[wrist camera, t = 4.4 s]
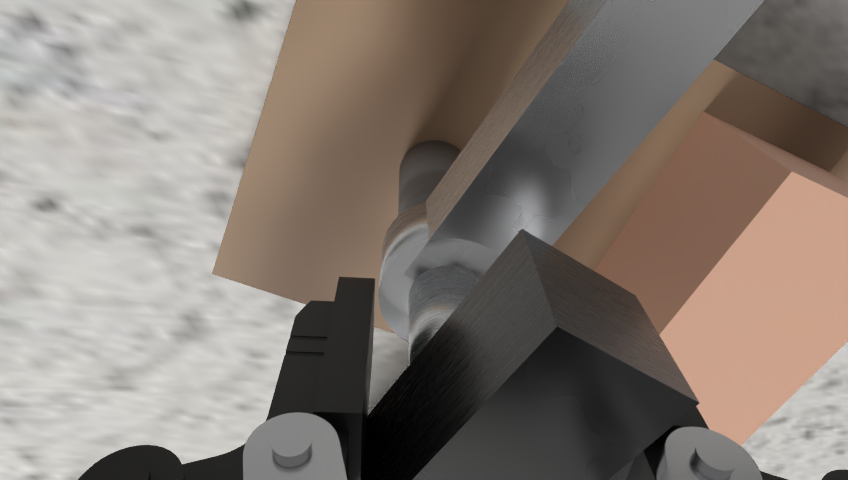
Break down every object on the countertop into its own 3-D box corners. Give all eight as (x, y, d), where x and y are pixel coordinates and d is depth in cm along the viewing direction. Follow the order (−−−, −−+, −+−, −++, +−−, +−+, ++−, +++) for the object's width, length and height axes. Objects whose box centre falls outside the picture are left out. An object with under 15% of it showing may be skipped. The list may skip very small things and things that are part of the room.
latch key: (421, 363, 17) (430, 649, 10) (325, 318, 16) (269, 600, 9) (785, -73, 11) (1290, -48, 5) (671, -179, 11) (1106, -327, 4)
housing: (870, 139, 23) (1074, 240, 16) (662, 382, 29) (743, 530, 22) (346, -127, 18) (308, -150, 11) (233, 234, 24) (163, 365, 17)
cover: (829, 172, 20) (946, 244, 16) (648, 386, 25) (698, 486, 21) (703, 111, 19) (791, 171, 15) (538, 349, 24) (567, 447, 19)
